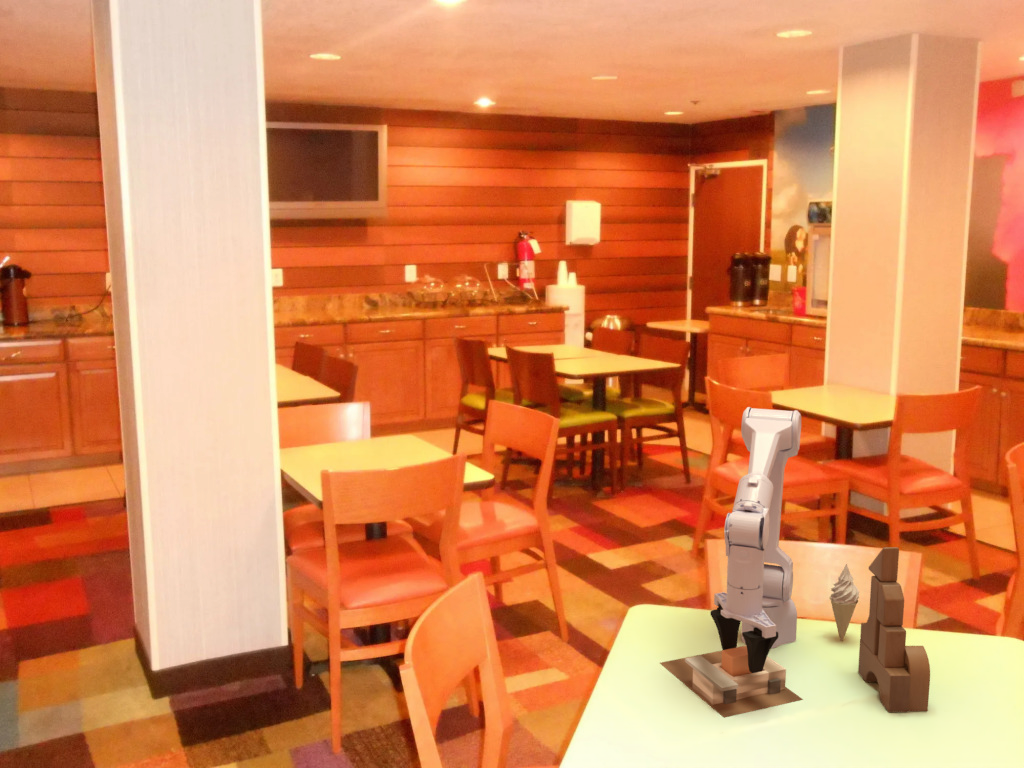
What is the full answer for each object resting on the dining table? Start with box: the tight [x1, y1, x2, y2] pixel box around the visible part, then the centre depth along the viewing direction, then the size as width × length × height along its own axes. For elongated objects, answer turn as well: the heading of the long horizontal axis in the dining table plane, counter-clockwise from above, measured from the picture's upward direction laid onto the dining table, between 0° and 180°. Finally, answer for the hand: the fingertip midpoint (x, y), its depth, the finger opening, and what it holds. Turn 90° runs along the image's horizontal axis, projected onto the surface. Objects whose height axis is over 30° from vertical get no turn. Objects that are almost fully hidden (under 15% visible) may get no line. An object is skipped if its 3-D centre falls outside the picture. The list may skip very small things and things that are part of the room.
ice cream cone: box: [829, 563, 860, 642], centre depth 176 cm, size 5×5×15 cm
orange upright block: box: [721, 645, 751, 677], centre depth 157 cm, size 5×3×6 cm, turn 111°
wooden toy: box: [857, 546, 931, 713], centre depth 157 cm, size 15×7×25 cm, turn 0°
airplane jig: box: [659, 650, 804, 718], centre depth 160 cm, size 15×20×5 cm
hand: (742, 661), depth 157 cm, fingers open, 7 cm apart
